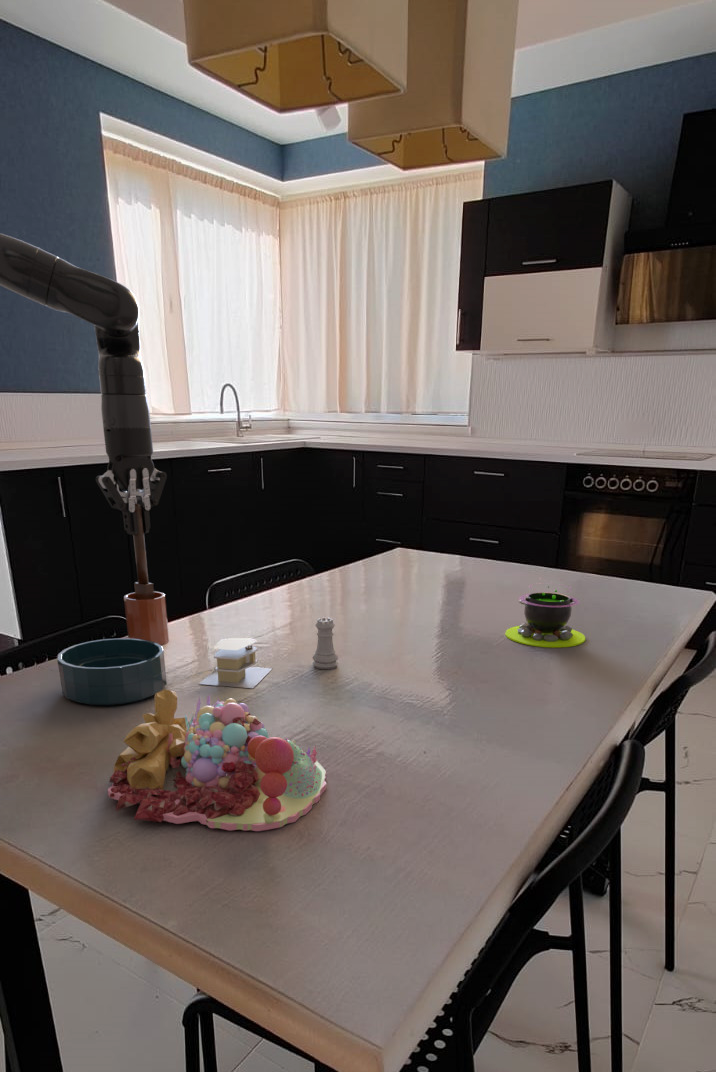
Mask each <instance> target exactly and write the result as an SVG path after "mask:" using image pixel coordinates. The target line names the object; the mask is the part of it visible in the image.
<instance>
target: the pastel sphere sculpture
mask: <svg viewBox="0 0 716 1072" xmlns="http://www.w3.org/2000/svg"><path fill="white" fill-rule="evenodd" d="M153 696H154V713H150V712H147V713H144V714H142V718H143V720H144V723H141V724H139V725H137V726H134V727H133V728H132V730H130V731H129V733H128V734H127V735H126V736H125V738H124V740H122V741H123V743H125V745H127V746H128V747H127V748H126V749H124V750H123V751H122V752H121V753H120V754H119V755H118V756H117V759H116V761H115V762H114V766H113V773H112V775H111V776H110V779H109V783H111V786H110V787H108V788H107V795H108V796H107V798H110V799H113V800H115V801H118V802H117V804H116V807H115V812H116V811H119V810H123V809H124V808H125V809H126V808H128V807H129V808H130V807H132V806H134V805H137V804H138V805H139V806H138V808H137V811H136V813H135V815H134V818H133V820H136V821H137V820H138V821H147V822H155V823H156V822H157V823H162V822H168V823H173V824H176V825H181V824H185V823H190V822H199V823H200V824H201V825H206V826H207V827H208V828H210V829H221V830H226V831H228V832H229V831H236V830H241V831H254V832H262V831H269V830H274V829H279V828H283V827H284V826H285V825H288V824H292V823H295V822H297V820H298V819H300V817H302V816H306V815H307V814H308V813H309V812H310V811H311V810H312V809H313V805H314V804H317V803H318V802H319V801H320V800H321V796H322V794H324V793H325V791H326V790H327V782H326V780H327V771H326V770H325V768H324V767H323V765H321V763H320V762H319V761H318V760H317V758H316V757H317V755H318V752H317V750H316V747H317V746H314V747H313V749H312V753H311V747H310V746H309V747H308V748H307V751H306V752H305V750H304V749H302V748H301V747H300V746H299V744H297V742H296V741H295V740H294V739H292V740H291V739H289V738H287V737H286V738H285V739H283V738H282V737H279V736H270V737H269V734H268V733H269V732H268V730H267V729H266V728H265V724H264V723H263V722H262V721H260V720H259V718H258V717H257V716H255V715H252V714H251V713H249V712H250V707H249V705H247V704H246V703H243V702H242V703H237V701H236V700H235V699H234V698H226V699H225V701H220V699H219V697H217V701H216V702H215V703H214V704H211V694H208V696H207V697H206V705H204V706H203V707H201V697H200V695H199V696H198V699H197V702H196V710H195V713H194V714H193V715H192V717H191V719H190V721H188V717H187V715H186V714H184V717H177V718H175V713H176V712H177V709H178V695H177V692H176V691H174V690H170V689H166V688H164V689H163V690H161V691H160V692H158V693H156V694H155V695H153Z"/></svg>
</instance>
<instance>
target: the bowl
mask: <svg viewBox="0 0 716 1072" xmlns="http://www.w3.org/2000/svg"><path fill="white" fill-rule="evenodd" d="M56 660H57V661H56V662H57V666H58V674H59V679H60V686H61V693H62V695H63V696H64V697H66V699H68V700H70V701H73V702H77V703H81V704H85V705H93V706H118V705H126V704H130V703H135V702H140V701H142V700H145V699H149V698H150V697H152V696H155V694H156V693H158V692H160V691H162V690H164V689H165V687H166V686H167V684H168V682H167V671H166V661H165V651H164V647H163V645H159V644H158V643H155V642H152V641H148V640H141V639H129V638H128V637H127V638H120V637H119V638H104V639H96V640H91V641H86V642H85V641H84V642H82V643H78V644H74V645H72V646H69V647H67V648H64V649H62V650H61V651H60V652H59V653H58V654H57V658H56Z"/></svg>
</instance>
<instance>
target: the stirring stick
mask: <svg viewBox="0 0 716 1072" xmlns="http://www.w3.org/2000/svg"><path fill="white" fill-rule="evenodd" d="M134 512H136V516H137V526H138V534H137V535H132V536H133V546H134V547H133V549H134V555H135V556H134V557H135V565H136V575H137V581H135V582H134V583H133V585H134V592H135V596H136V600H147V599H154V592H155V589H154V583H152V582H150V581H149V580H150V579H149V572H148V560H147V550H146V542H145V533H144V530H143V520H142V510H141V506H140V505H139V504H137V503H135V511H134Z"/></svg>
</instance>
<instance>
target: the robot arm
mask: <svg viewBox="0 0 716 1072" xmlns="http://www.w3.org/2000/svg"><path fill="white" fill-rule="evenodd" d="M0 287H3V288H5V289H7V290H9V291H12V292H13V293H15V294H18V295H19V296H22V297H25V298H26V299H29V300H31V301H33V302H35V303H38V304H40V305H42V306H44V307H47V308H49V309H51V310H54V311H58V312H62V313H68V314H70V315H71V316H74V317H76V318H78V319H81V320H82V321H85V322H87V323H89V324H91V325H93V326H94V327H93V328H94V333H95V340H96V346H97V352H98V379H99V388H100V397H101V401H100V402H101V404H100V405H101V406H100V407H101V408H100V409H101V419H102V428H103V437H104V446H105V447H104V448H105V453H106V455H107V457H108V464H107V470H106V472H104V473H103V474H102V475H97V476H96V477H95V482H96V484H97V485H98V487H99V489H100V491H101V492H102V493H103V495H104V497H105V499H106V501H107V503H108V504H109V506H110V507H111V509H116V510H119V511H121V513H122V520H123V528H124V530H125V532H126V534H127V535H129V536H131V535H132V536H133V535H137V534H138V526H137V516H136V512H134V511H135V503H137V504H139V505H140V506H141V510H142V520H143V530H144V534H149V532H150V529H151V515H150V510H151V508H153V507H154V506H157V505H159V502H160V499H161V496H162V493H163V490H164V487H165V484H166V481H167V478H168V473H167V472H165V471H160V470H158V469H157V468H155V464H154V462H153V459H152V456H153V454H154V448H153V447H154V445H153V436H152V435H153V434H152V423H151V414H150V408H149V407H150V406H149V401H148V398H147V397H148V396H147V387H146V375H145V369H144V364H143V361H142V356H141V339H140V338H141V337H140V320H139V319H140V306H139V302H138V300H137V298H136V296H135V294H134V292H132V291H131V290H130V289H129V287H127V286H125V285H124V284H122V283H120V282H118V281H115V280H113V279H111V278H109V277H107V276H104V275H101V274H100V273H96V272H94V271H91V270H87V269H84V268H81V267H78V266H76V265H74V264H73V263H71V262H69V261H67V260H66V259H63V258H61V257H59V256H57V255H55V254H53V253H50V252H48V251H46V250H44V249H42V248H40V247H38V246H35V245H33V244H31V243H29V242H26V241H24V240H21V239H18V238H15V237H13V236H10V235H7V234H4V233H1V232H0Z"/></svg>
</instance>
